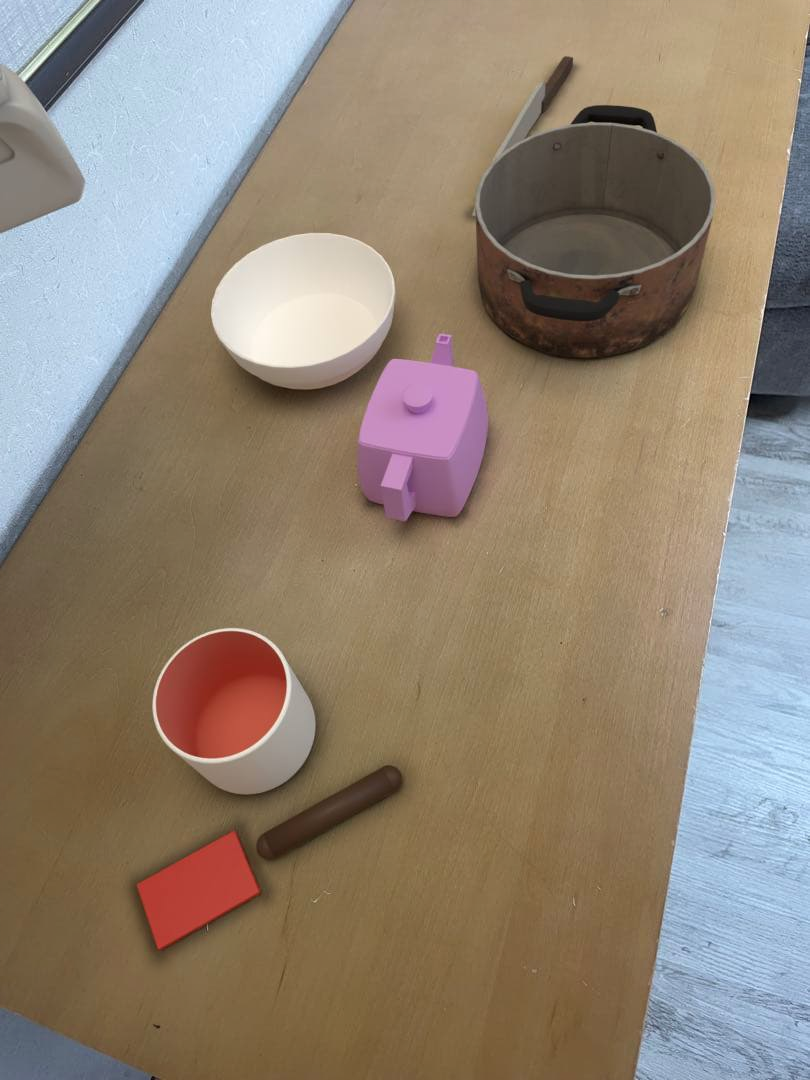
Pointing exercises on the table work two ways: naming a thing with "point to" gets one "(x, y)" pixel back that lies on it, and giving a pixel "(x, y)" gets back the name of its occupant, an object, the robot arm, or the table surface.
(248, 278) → the bowl
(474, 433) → the teapot
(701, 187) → the saucepan
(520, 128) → the kitchen knife
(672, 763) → the table surface
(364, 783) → the spatula
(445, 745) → the table surface
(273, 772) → the cup
